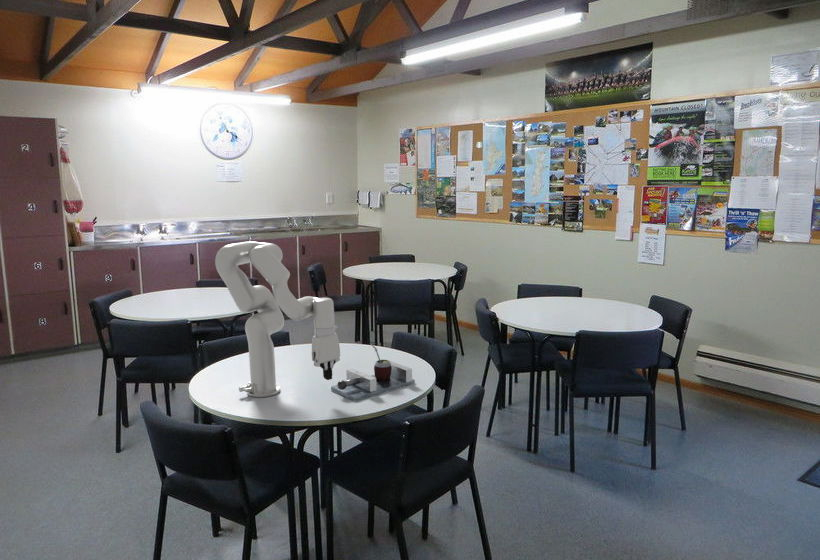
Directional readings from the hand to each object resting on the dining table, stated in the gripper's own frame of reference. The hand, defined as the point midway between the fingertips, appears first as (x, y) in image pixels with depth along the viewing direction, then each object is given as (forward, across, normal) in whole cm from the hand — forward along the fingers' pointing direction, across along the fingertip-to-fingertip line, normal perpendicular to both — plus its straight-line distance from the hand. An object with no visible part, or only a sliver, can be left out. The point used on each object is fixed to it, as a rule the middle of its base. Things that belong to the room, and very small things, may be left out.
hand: (328, 378), depth 217 cm
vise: (+9, -21, -1) cm, 23 cm away
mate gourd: (+8, -26, -2) cm, 27 cm away
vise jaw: (+7, -11, -1) cm, 13 cm away
